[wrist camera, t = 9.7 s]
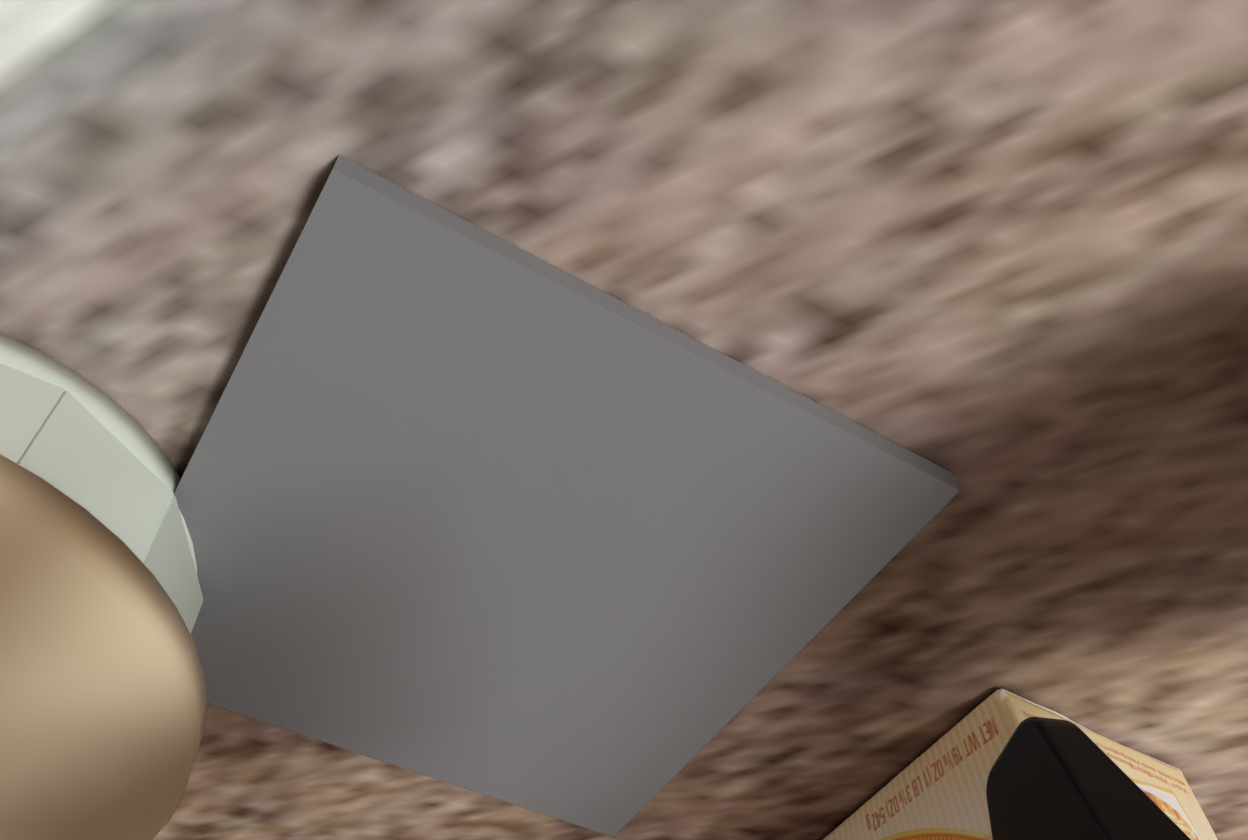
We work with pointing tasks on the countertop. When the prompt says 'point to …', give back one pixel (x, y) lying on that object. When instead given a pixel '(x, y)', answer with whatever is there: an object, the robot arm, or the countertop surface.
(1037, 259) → the countertop surface
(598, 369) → the plate
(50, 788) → the lid
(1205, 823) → the coffeecake box
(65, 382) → the bowl
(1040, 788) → the robot arm
